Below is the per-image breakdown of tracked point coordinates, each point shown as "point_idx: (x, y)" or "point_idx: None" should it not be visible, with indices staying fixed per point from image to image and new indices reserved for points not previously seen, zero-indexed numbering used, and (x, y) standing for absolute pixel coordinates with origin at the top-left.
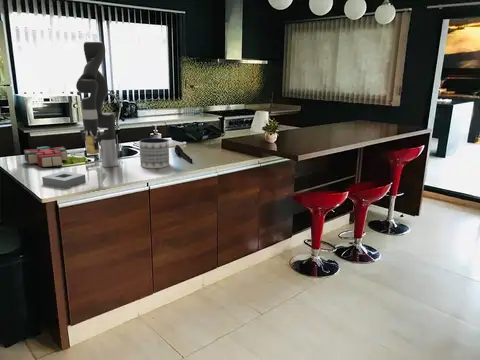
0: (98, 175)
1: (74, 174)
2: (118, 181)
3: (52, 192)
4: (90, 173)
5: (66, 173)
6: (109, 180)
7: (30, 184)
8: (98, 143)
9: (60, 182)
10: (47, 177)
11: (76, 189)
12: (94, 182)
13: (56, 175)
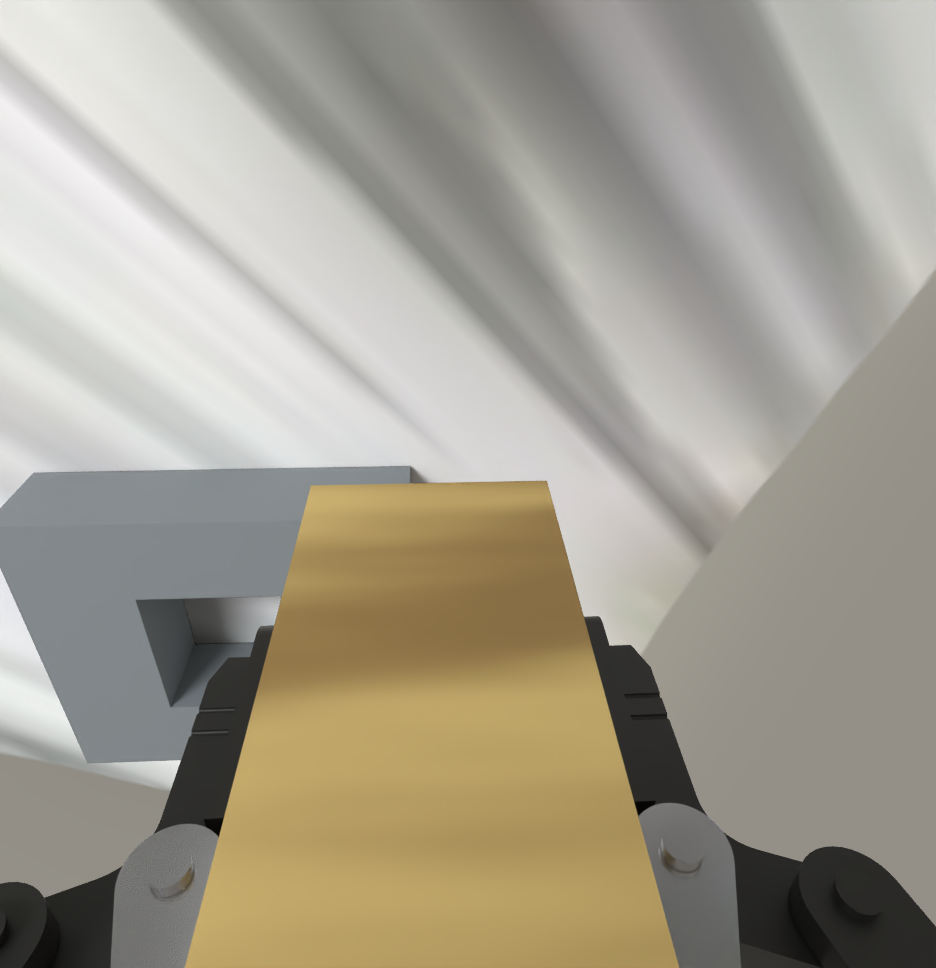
0: (298, 124)
1: (281, 571)
2: (802, 269)
3: None
4: (62, 74)
5: (147, 581)
6: (652, 286)
7: (31, 737)
8: (603, 699)
9: None
10: (153, 753)
11: None
12: (529, 444)
13: (145, 679)
